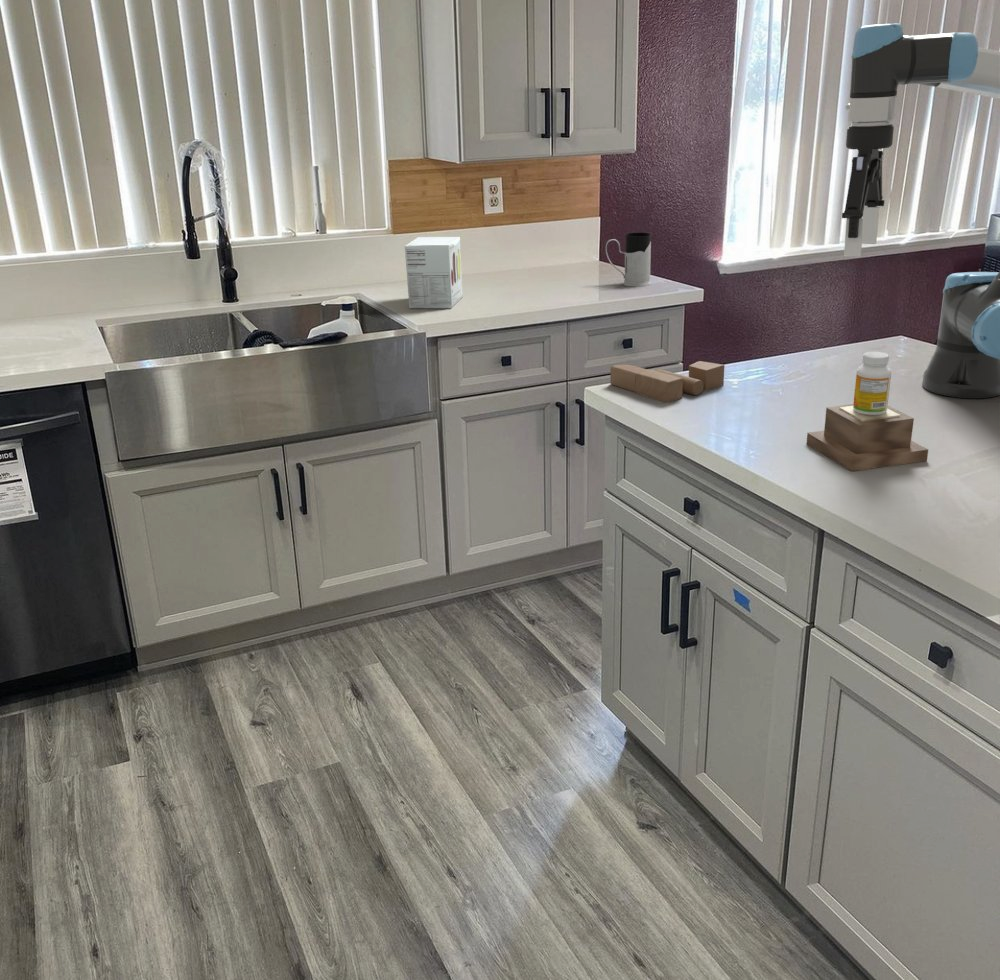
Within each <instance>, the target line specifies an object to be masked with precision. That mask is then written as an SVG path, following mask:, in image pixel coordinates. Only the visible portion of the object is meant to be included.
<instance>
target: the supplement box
mask: <svg viewBox="0 0 1000 980" xmlns="http://www.w3.org/2000/svg"><path fill="white" fill-rule="evenodd" d="M461 251H462V250H461V237H460V236H418V237H416V238H414V239H413V240H412V241H410V242H409V243H407V244H405V245H404V253H405V269H406V280H407V293H408V294H407V295H408V307H409V309H452V308H454V306H455V305H457V303H458V302H459V301H460V300H462V298H463V297H464V295H463V294H464V293H463V276H462V275H463V274H462V258H461V257H462V254H461Z"/></svg>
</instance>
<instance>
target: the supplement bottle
mask: <svg viewBox="0 0 1000 980" xmlns="http://www.w3.org/2000/svg"><path fill="white" fill-rule="evenodd" d="M889 358H890V356H889V354H888V353H887V352H884V351H883V352H882V351H867V352H864V353H863V354H862V363H863V364H861V365H860V366H858V367H857V370H856V375H855V386H854V394H853V395H854V396H853V403H852V404H853V409H854V411H855V412H857V413H859V414H863V415H881V414H884V413H886V411H887V407H888V406H889V396H890V389H891V388H890V387H891V380H892V369H891V368H890V367H889V366H887V365H888V364H889V360H890V359H889Z"/></svg>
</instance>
